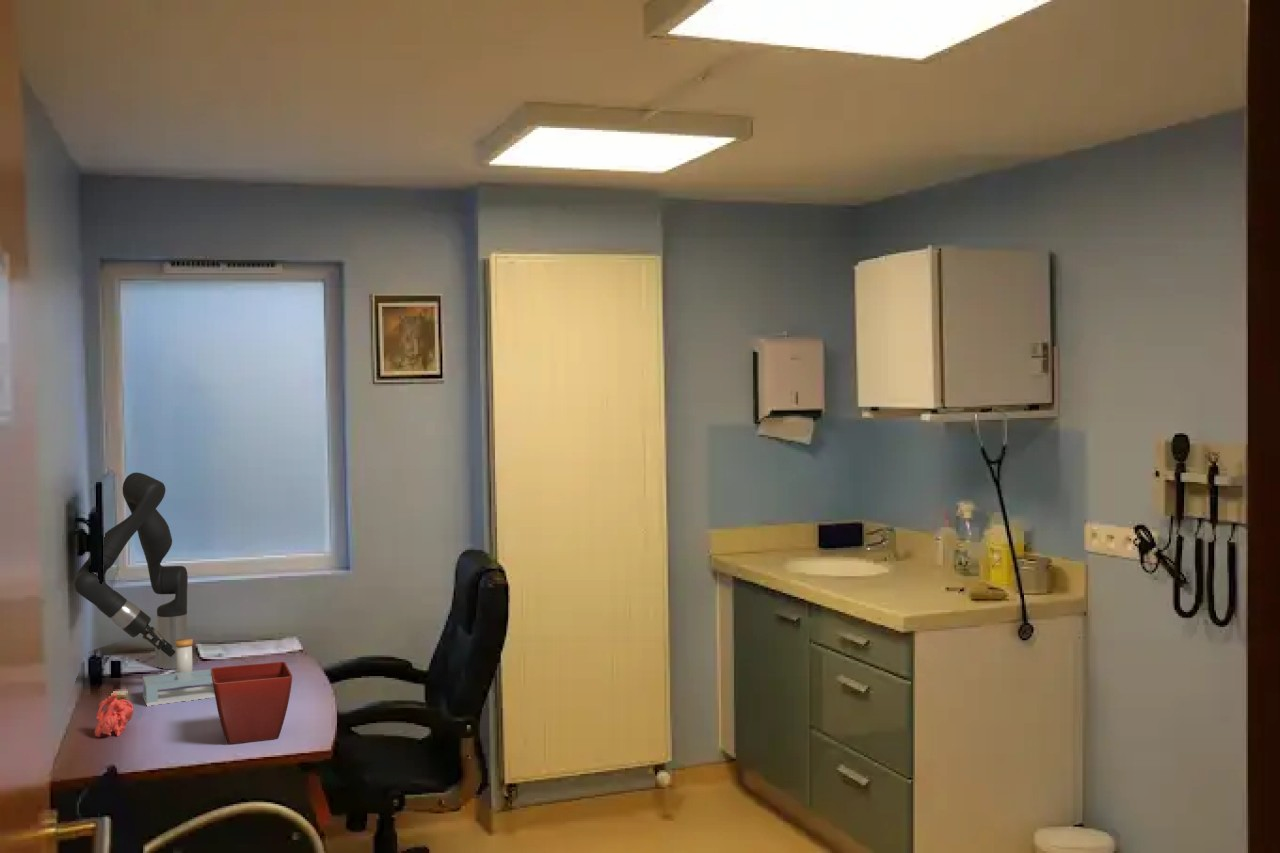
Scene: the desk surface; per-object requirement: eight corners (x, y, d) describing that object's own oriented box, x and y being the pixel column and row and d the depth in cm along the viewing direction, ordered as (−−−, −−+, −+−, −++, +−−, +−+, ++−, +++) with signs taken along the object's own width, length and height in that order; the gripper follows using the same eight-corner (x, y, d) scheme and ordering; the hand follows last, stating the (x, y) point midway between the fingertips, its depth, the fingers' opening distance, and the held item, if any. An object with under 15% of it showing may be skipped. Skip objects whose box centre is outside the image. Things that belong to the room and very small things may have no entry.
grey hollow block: (146, 706, 332) (146, 685, 332) (143, 696, 342) (142, 676, 342) (227, 696, 342) (226, 676, 342) (221, 687, 353) (220, 668, 353)
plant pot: (286, 721, 315) (285, 660, 314) (294, 740, 297) (292, 675, 297) (211, 730, 308) (210, 667, 307) (215, 750, 290) (213, 683, 289)
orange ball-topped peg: (172, 687, 354) (171, 641, 353) (182, 683, 359) (181, 638, 358) (187, 687, 353) (186, 642, 352) (197, 683, 358) (196, 638, 357)
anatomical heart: (129, 732, 312) (140, 690, 312) (122, 745, 300) (134, 701, 301) (94, 726, 309) (106, 684, 310) (86, 739, 298) (98, 695, 298)
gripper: (141, 612, 343) (183, 646, 349) (137, 605, 356) (178, 638, 361) (122, 632, 341) (165, 666, 346) (119, 624, 353) (160, 656, 359)
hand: (171, 651), depth 354 cm, fingers open, 8 cm apart
